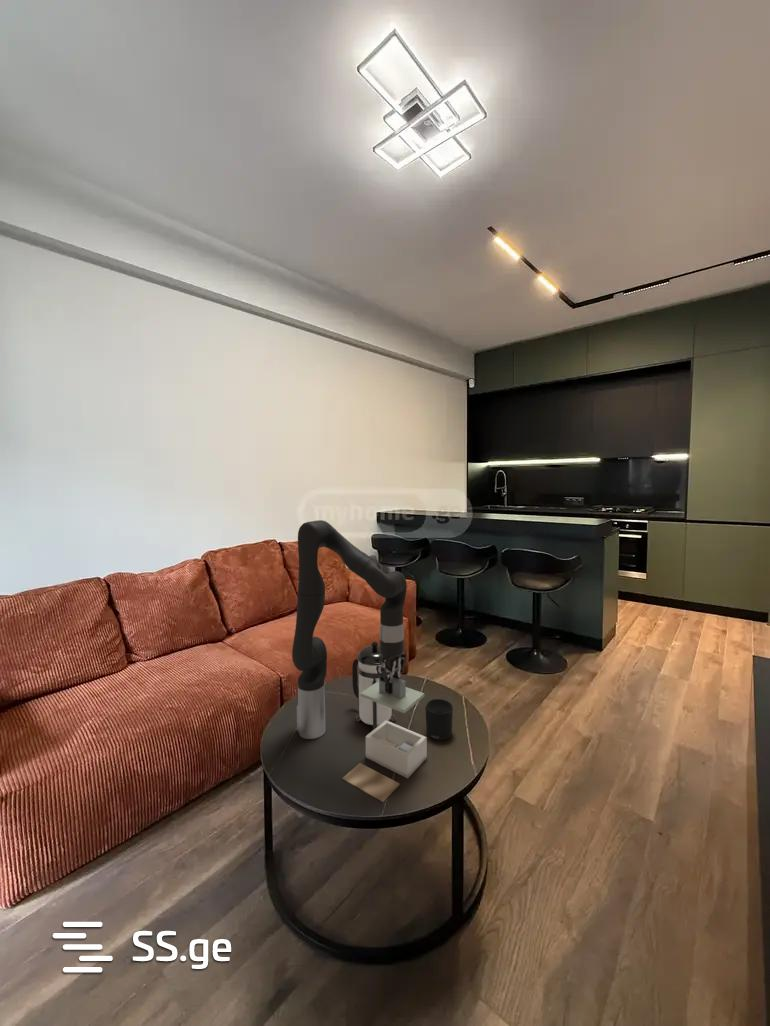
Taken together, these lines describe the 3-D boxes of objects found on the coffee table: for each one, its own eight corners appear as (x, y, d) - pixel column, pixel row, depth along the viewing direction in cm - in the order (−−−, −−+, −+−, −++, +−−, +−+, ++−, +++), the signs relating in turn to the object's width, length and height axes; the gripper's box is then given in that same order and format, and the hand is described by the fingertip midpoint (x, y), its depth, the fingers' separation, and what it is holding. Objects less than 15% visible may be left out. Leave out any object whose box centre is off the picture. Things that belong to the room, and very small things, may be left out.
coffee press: (397, 709, 158) (396, 633, 156) (394, 734, 142) (393, 650, 140) (353, 707, 160) (352, 632, 158) (345, 731, 144) (343, 649, 142)
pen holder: (420, 730, 145) (420, 703, 144) (442, 722, 149) (442, 696, 148) (435, 745, 136) (435, 716, 135) (458, 737, 140) (458, 709, 140)
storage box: (365, 757, 131) (365, 736, 130) (386, 739, 139) (385, 720, 139) (407, 778, 121) (407, 756, 121) (426, 758, 130) (426, 737, 129)
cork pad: (342, 779, 121) (342, 777, 121) (359, 764, 127) (359, 762, 127) (383, 802, 112) (383, 800, 112) (399, 784, 119) (399, 783, 119)
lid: (360, 699, 128) (360, 679, 127) (382, 685, 137) (381, 665, 136) (404, 717, 118) (404, 695, 118) (424, 700, 127) (424, 679, 127)
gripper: (394, 627, 134) (395, 678, 135) (368, 641, 122) (368, 696, 124) (414, 632, 129) (414, 684, 131) (388, 647, 118) (389, 704, 119)
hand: (392, 690), depth 127 cm, fingers closed on lid, 3 cm apart
